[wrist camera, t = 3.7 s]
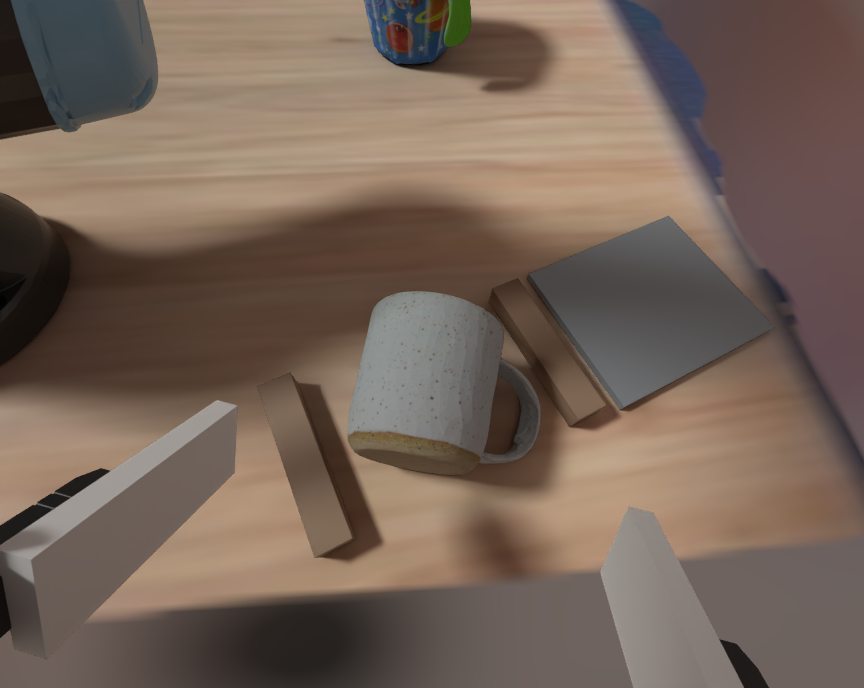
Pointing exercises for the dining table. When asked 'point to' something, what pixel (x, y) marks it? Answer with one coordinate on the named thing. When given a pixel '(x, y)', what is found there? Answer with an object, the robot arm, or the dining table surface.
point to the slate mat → (647, 309)
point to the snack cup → (417, 27)
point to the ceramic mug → (434, 386)
